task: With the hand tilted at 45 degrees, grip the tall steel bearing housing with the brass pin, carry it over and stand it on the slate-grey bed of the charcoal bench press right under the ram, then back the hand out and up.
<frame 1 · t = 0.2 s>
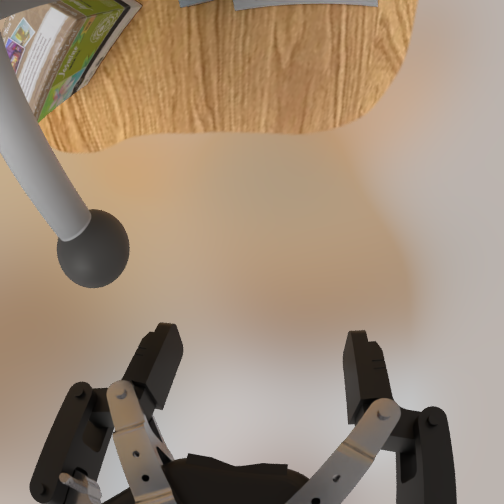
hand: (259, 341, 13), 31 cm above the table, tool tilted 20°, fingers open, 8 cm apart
tea box: (91, 30, 24), on the table
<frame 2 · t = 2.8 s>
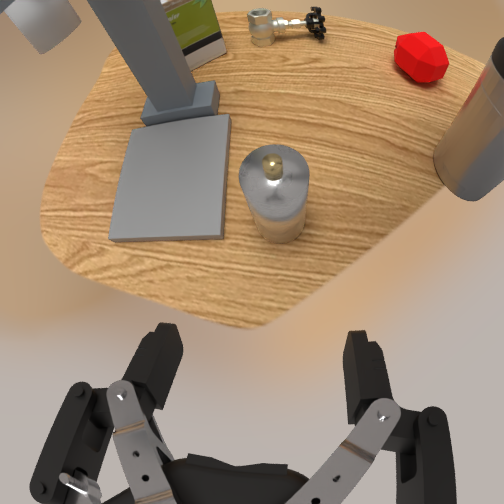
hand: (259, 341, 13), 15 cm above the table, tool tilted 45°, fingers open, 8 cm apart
press: (171, 177, 33), on the table
valve: (286, 40, 38), on the table
tea box: (185, 52, 40), on the table
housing: (280, 219, 30), on the table
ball: (415, 73, 33), on the table
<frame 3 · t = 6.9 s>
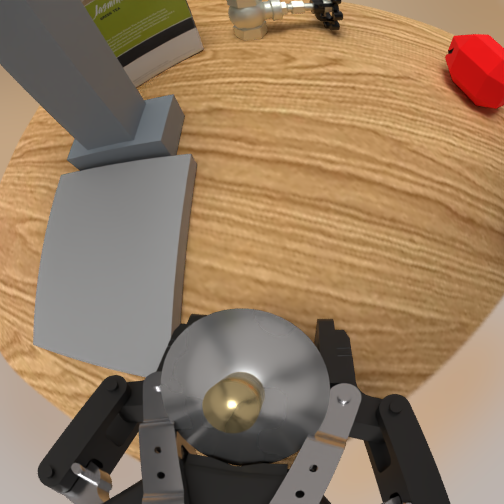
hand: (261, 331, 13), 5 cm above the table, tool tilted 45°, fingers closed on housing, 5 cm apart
press: (105, 261, 21), on the table
valve: (284, 31, 26), on the table
tea box: (150, 51, 28), on the table
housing: (268, 357, 17), on the table, touching gripper
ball: (471, 91, 21), on the table
when the fingers open (8 cm above the table, at t = 13.0 s): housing drops 1 cm, resting on press.
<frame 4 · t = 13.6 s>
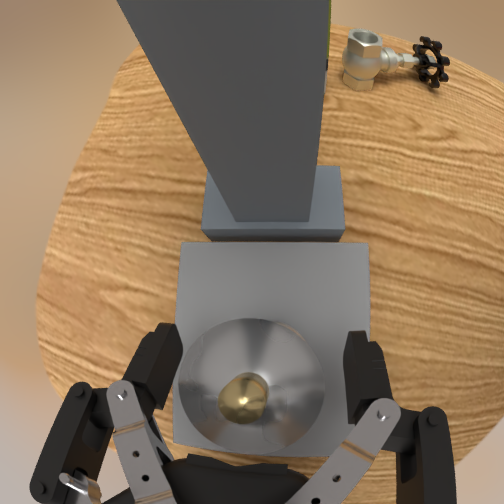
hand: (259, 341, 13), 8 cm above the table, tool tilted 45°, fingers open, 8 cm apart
press: (270, 352, 20), on the table
valve: (386, 81, 25), on the table
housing: (270, 357, 19), point 2 cm above the table, touching press
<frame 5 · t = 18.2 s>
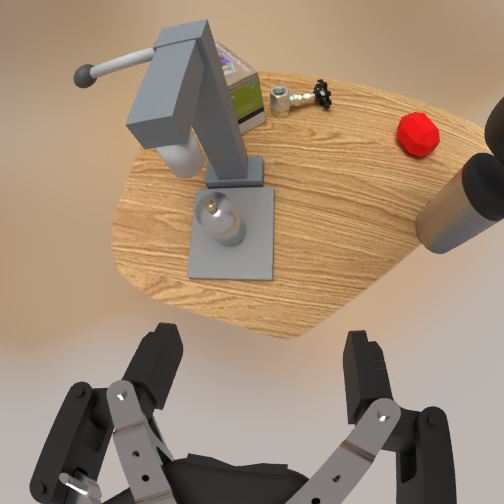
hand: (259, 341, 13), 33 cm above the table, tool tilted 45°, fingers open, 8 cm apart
press: (232, 233, 49), on the table
valve: (298, 109, 55), on the table
tea box: (229, 113, 56), on the table
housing: (231, 231, 47), point 2 cm above the table, touching press
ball: (412, 144, 49), on the table
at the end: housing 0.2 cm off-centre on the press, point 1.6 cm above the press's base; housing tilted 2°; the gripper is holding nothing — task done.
